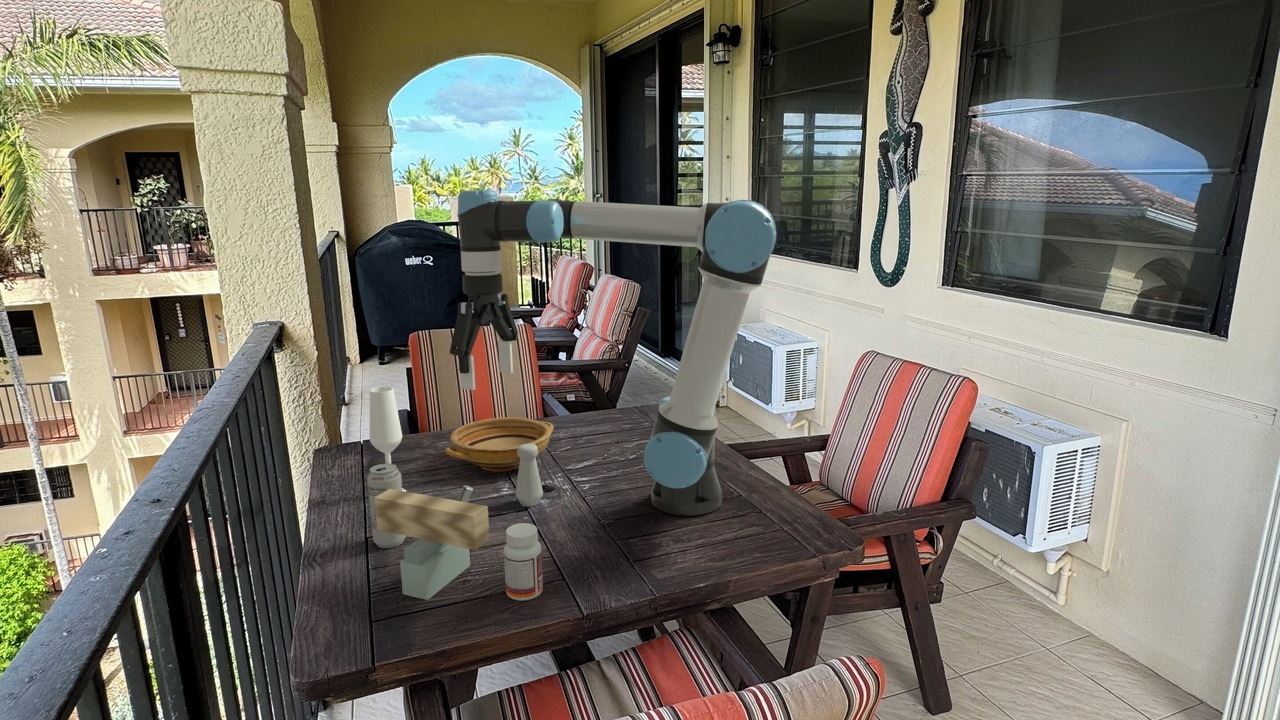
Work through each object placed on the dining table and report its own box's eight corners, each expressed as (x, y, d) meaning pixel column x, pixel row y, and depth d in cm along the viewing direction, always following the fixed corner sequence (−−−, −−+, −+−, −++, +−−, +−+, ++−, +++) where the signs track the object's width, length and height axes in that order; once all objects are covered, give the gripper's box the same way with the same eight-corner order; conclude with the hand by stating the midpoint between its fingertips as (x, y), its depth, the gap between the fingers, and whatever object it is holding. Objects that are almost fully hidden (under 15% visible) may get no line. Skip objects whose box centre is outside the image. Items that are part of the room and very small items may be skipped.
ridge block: (470, 565, 129) (467, 522, 127) (427, 600, 118) (423, 553, 116) (446, 560, 131) (443, 517, 129) (402, 594, 120) (398, 548, 118)
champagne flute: (410, 496, 158) (401, 390, 153) (378, 502, 155) (367, 395, 150) (403, 485, 164) (394, 383, 158) (372, 491, 161) (362, 387, 155)
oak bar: (489, 539, 121) (487, 506, 119) (475, 550, 117) (473, 516, 116) (393, 520, 128) (390, 488, 127) (377, 530, 124) (374, 497, 123)
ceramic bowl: (477, 494, 159) (475, 460, 157) (423, 465, 176) (421, 434, 174) (581, 460, 179) (580, 429, 177) (523, 436, 196) (522, 408, 194)
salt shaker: (538, 509, 151) (535, 451, 148) (512, 507, 152) (509, 449, 149) (547, 498, 157) (544, 441, 154) (522, 496, 158) (519, 440, 155)
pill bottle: (527, 578, 125) (524, 517, 122) (550, 591, 121) (548, 529, 118) (498, 592, 120) (494, 530, 118) (521, 606, 116) (518, 542, 114)
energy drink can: (412, 541, 138) (406, 467, 135) (383, 552, 134) (376, 477, 130) (396, 531, 142) (389, 459, 139) (367, 542, 138) (360, 468, 134)
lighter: (440, 532, 141) (438, 494, 140) (437, 529, 143) (434, 492, 141) (475, 523, 145) (472, 486, 143) (471, 520, 147) (469, 483, 145)
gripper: (500, 265, 151) (505, 364, 156) (424, 279, 128) (433, 394, 133) (531, 266, 148) (536, 367, 153) (460, 281, 125) (467, 398, 130)
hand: (488, 380), depth 143 cm, fingers open, 13 cm apart
